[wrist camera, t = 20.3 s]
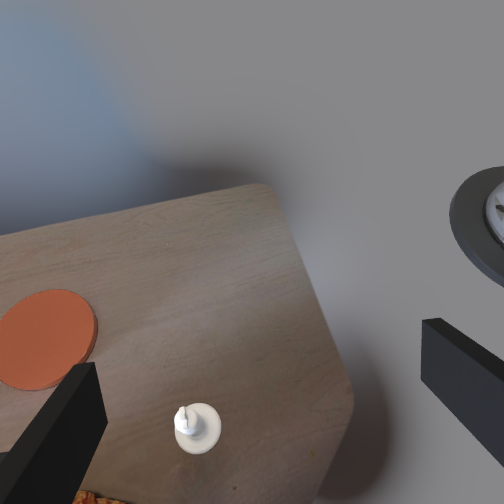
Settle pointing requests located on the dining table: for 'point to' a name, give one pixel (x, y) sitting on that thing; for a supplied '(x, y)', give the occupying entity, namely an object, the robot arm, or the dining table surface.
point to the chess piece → (197, 428)
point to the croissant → (92, 499)
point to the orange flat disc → (45, 339)
